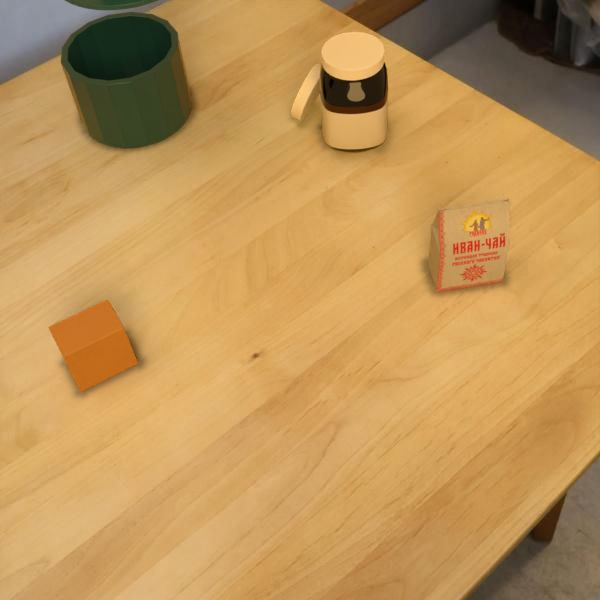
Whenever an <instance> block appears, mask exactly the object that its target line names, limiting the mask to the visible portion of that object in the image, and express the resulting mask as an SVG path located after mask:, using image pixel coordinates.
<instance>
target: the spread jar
mask: <svg viewBox="0 0 600 600" xmlns="http://www.w3.org/2000/svg"><path fill="white" fill-rule="evenodd" d="M320 53H321V63H320V64H319V63H316V64H315V65H313V67H312V68H311V69H310V71H309V72H308V73H307V76H306V77H305V79H304V81H303V82H302V84H301V86H300V88H299V90H298V92H297V95H296V96H295V99H294V101H293V104H292V107H291V109H290V117H292V118H294V119H295V120H297V121H299V122H303V121H304V120H305V119H306V118H307V116H308V115H309V113H310V112H311V110H312V109H313V107H314V105H315V103H316V101H317V100H318V97H319V99H320V100H319V101H320V120H321V129H322V136H323V140H324V142H325V144H326V145H327V146H328V148H330V149H332V150H334V151H337V152H342V153H350V154H352V153H353V154H354V153H356V154H357V153H364V152H368V151H369V152H370V151H372V150H374V149H377V148H379V147H380V146H382V145H383V144H384V142H385V141H386V138H387V134H388V133H387V132H388V123H389V122H388V121H389V120H388V118H389V117H388V113H389V110H388V109H389V76H388V67H387V65H386V62H385V46H384V44H383V42H382V41H381V39H379V38H378V37H376V36H375V35H372V34H370V33H367V32H362V31H348V32H347V31H346V32H343V33H339V34H336V35H334V36H332V37H330V38H329V39H328V40H326V41H325V43H324V44H323V45H322V47H321V52H320Z"/></svg>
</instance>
